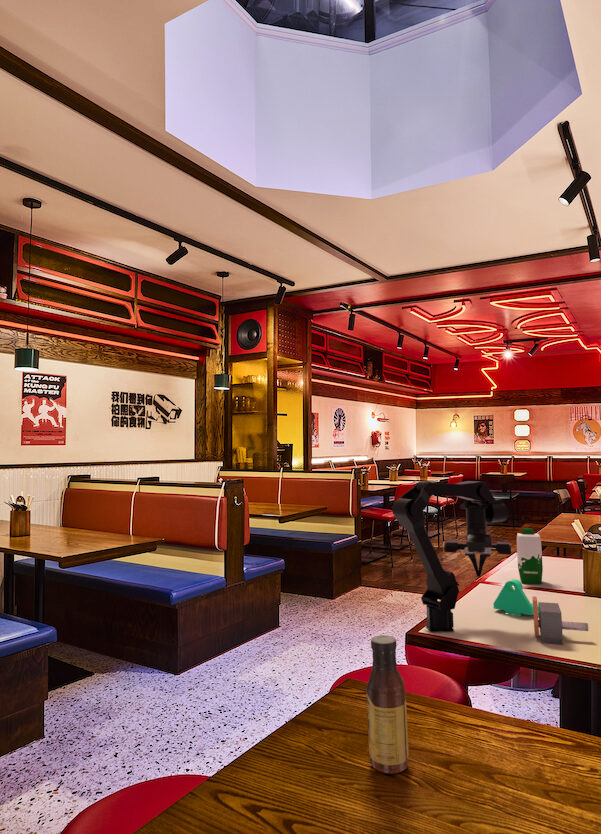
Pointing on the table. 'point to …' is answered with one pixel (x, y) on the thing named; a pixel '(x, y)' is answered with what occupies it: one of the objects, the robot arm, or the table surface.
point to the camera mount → (513, 599)
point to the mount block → (550, 623)
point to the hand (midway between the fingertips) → (478, 576)
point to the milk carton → (529, 557)
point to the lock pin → (564, 624)
